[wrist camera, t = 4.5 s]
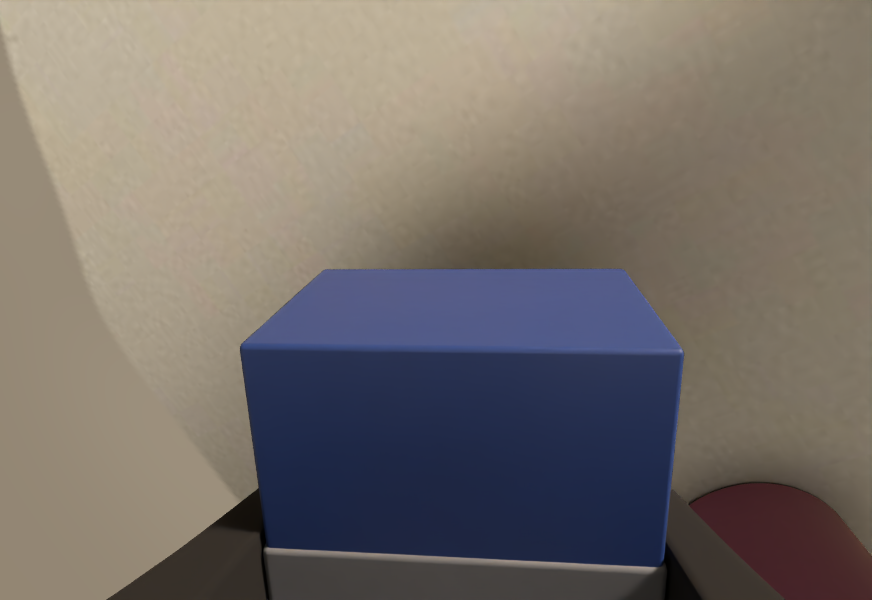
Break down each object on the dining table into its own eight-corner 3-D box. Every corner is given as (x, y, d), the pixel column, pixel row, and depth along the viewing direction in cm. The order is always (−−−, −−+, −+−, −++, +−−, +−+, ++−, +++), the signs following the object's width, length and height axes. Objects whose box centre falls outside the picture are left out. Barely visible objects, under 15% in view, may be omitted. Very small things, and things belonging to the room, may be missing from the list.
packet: (602, 653, 12) (639, 864, 9) (353, 636, 13) (299, 829, 9) (627, 267, 10) (692, 352, 6) (320, 267, 10) (230, 346, 7)
